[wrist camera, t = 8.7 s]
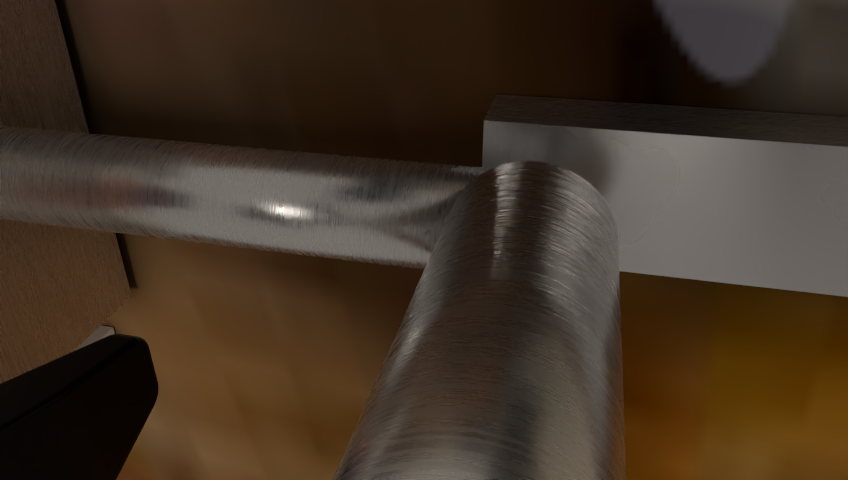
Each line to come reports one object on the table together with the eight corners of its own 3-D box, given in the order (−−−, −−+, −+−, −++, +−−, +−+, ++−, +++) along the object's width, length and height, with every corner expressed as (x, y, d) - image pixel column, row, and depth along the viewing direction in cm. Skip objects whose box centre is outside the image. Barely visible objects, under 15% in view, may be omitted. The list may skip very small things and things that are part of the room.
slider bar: (653, -86, 12) (1331, 772, 1) (588, 360, 17) (553, 1354, 6) (-31, -94, 15) (-1993, 65, 4) (84, 289, 20) (-599, 859, 9)
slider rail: (1250, 142, 12) (1341, 183, 10) (1160, 287, 13) (1227, 339, 12) (495, 93, 14) (483, 120, 13) (490, 219, 16) (478, 255, 14)
